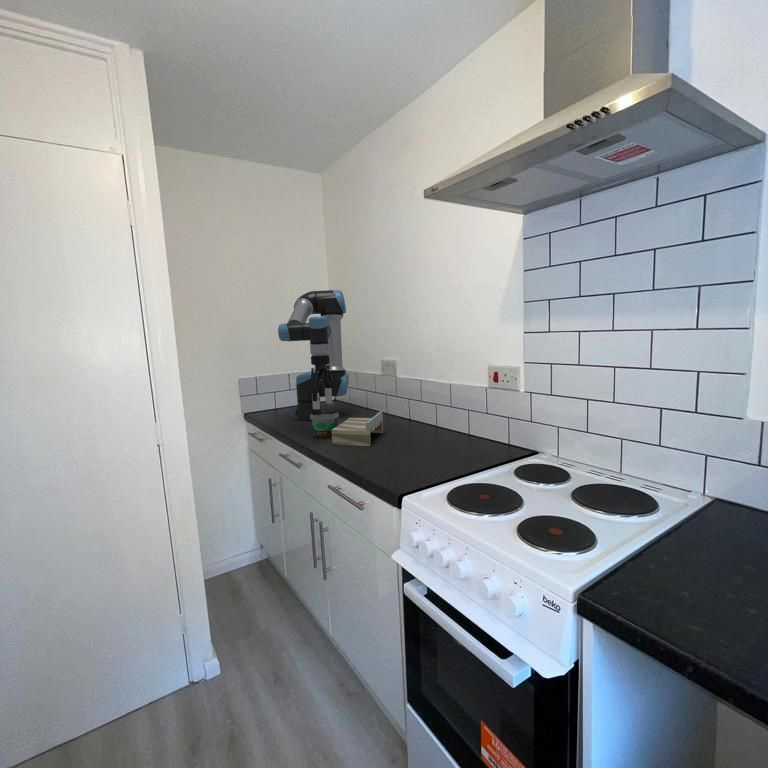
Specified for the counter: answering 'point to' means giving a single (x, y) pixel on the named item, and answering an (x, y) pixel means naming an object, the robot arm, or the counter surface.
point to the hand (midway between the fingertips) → (322, 406)
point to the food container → (324, 424)
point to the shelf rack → (357, 431)
